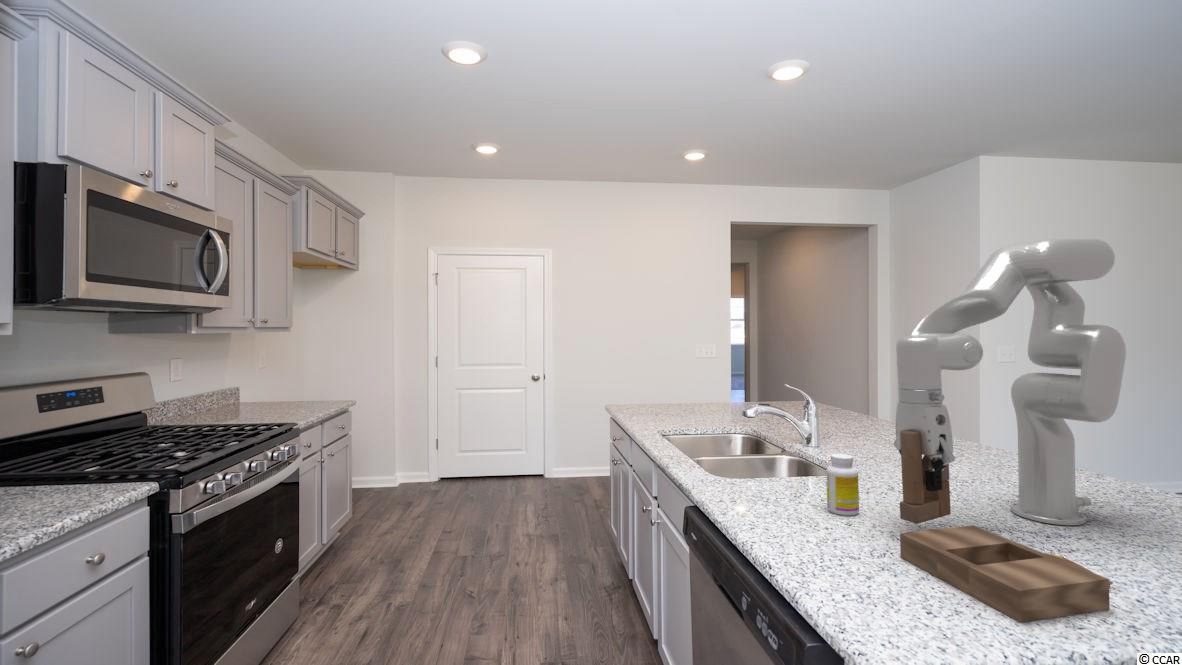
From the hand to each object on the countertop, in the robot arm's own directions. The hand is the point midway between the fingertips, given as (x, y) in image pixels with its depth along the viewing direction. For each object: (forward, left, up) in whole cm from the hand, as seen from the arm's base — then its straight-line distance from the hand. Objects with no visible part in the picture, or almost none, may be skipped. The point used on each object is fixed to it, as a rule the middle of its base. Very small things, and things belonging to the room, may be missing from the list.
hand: (923, 485), depth 106 cm
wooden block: (0, 0, -7) cm, 7 cm away
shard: (-11, +18, -11) cm, 24 cm away
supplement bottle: (+7, -16, -10) cm, 20 cm away
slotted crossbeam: (+5, +19, -10) cm, 22 cm away
